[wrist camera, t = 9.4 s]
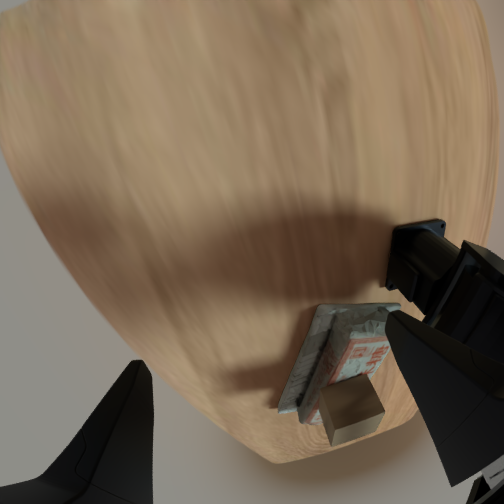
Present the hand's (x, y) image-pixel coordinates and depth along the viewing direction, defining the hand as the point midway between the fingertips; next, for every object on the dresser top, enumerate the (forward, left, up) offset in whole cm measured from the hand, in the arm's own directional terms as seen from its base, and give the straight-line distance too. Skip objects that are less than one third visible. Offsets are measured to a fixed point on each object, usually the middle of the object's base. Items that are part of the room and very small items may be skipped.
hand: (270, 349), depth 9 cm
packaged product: (-8, +19, -13) cm, 24 cm away
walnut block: (-8, +19, -8) cm, 22 cm away
